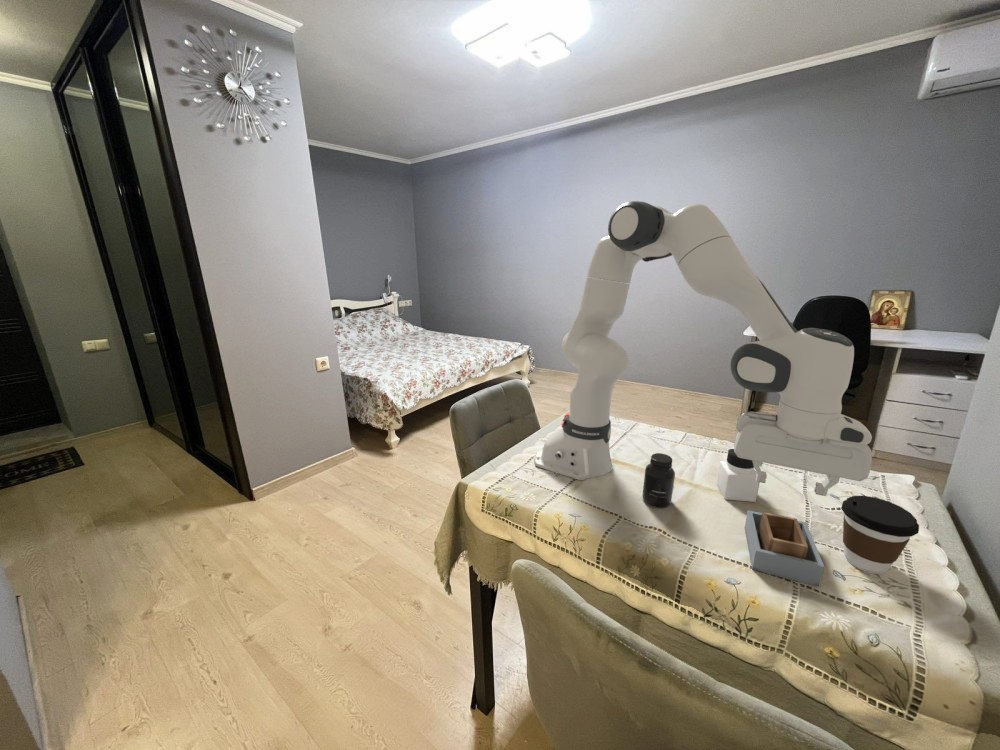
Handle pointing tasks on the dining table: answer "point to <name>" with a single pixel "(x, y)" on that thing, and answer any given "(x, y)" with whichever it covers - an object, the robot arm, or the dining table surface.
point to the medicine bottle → (737, 478)
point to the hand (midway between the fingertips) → (789, 487)
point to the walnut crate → (782, 535)
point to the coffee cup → (875, 532)
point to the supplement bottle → (659, 481)
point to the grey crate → (780, 563)
